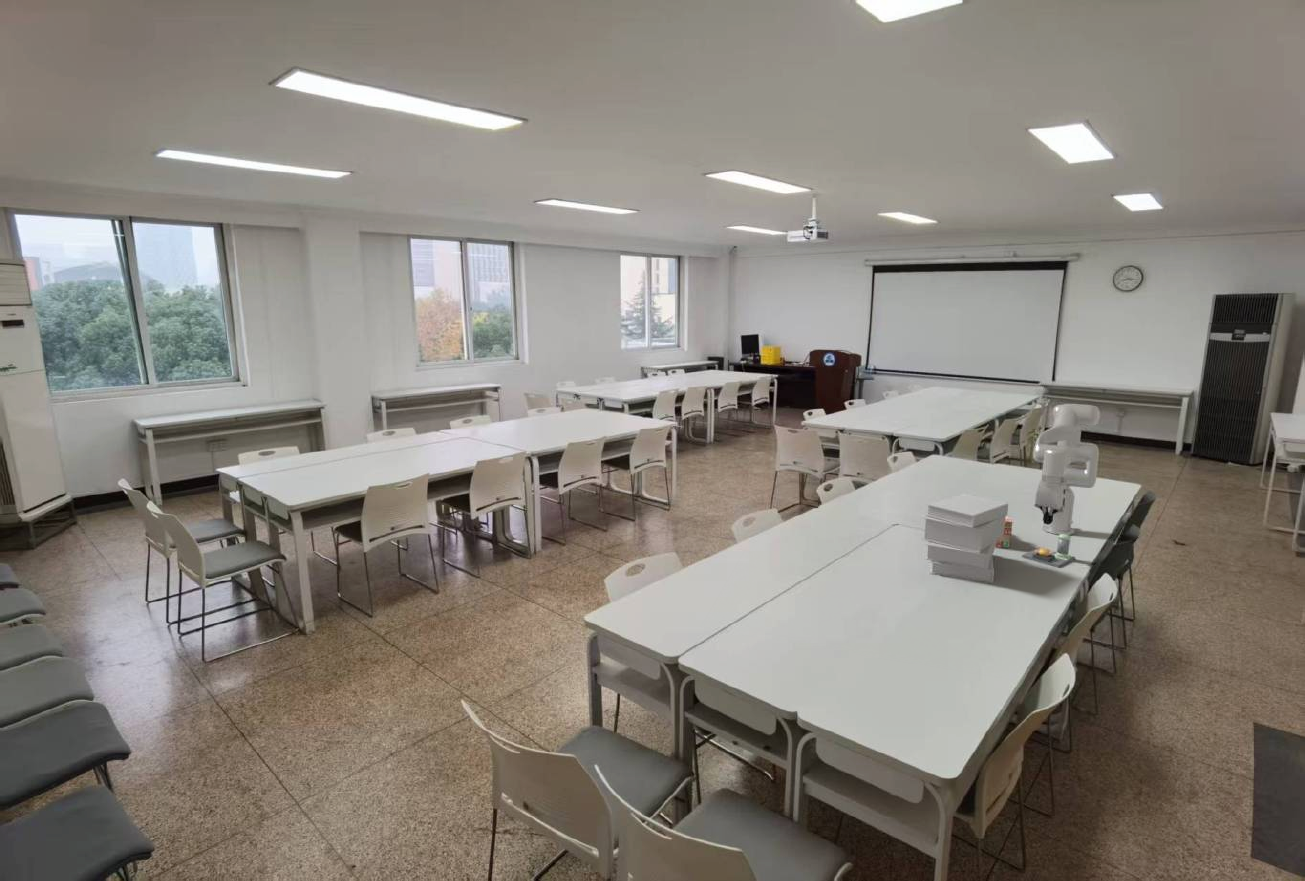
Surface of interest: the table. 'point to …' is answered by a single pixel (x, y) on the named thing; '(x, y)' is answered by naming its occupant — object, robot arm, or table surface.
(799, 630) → the table surface
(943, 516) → the book stack
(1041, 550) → the button
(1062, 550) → the green grey cylinder
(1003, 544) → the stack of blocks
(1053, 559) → the board
